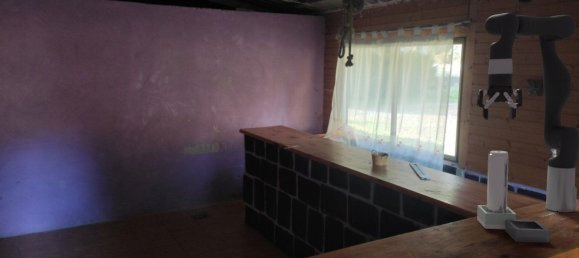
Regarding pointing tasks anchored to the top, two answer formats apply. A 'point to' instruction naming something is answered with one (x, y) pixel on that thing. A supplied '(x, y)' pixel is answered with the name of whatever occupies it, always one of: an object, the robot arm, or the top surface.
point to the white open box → (494, 218)
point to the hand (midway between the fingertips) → (498, 119)
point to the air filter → (497, 182)
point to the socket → (527, 231)
